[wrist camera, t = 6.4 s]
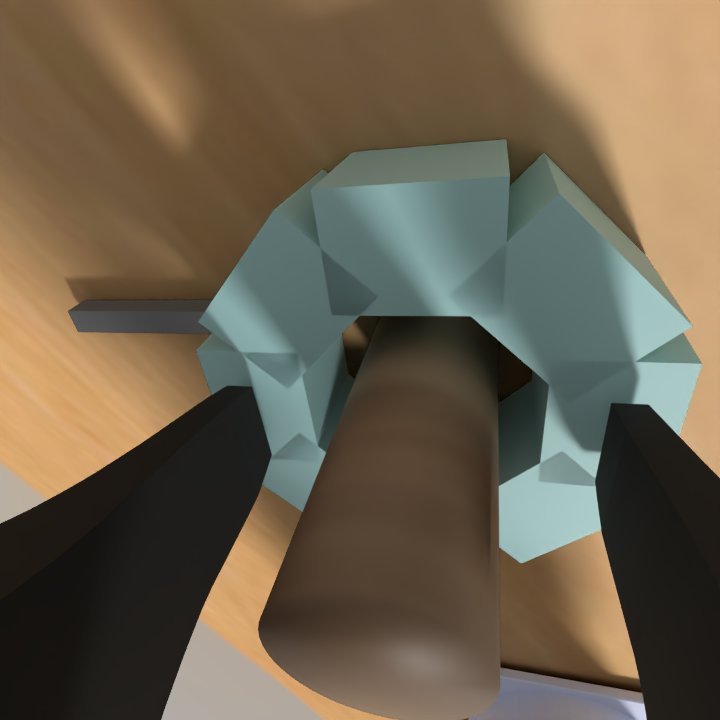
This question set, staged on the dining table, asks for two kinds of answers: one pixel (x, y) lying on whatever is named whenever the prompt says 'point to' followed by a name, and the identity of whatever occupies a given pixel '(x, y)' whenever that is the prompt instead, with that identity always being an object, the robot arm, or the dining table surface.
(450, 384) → the dowel
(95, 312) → the long slate grey beam
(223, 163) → the dining table surface
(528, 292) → the teal bead
